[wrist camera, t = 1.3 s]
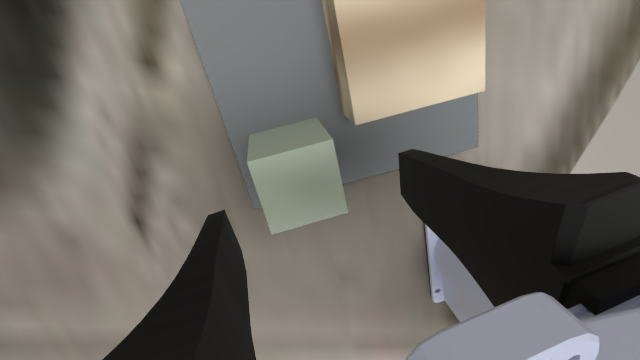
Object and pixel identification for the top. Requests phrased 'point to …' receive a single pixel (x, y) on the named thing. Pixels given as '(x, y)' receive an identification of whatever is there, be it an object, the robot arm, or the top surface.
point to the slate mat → (307, 87)
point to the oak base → (404, 53)
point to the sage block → (296, 175)
